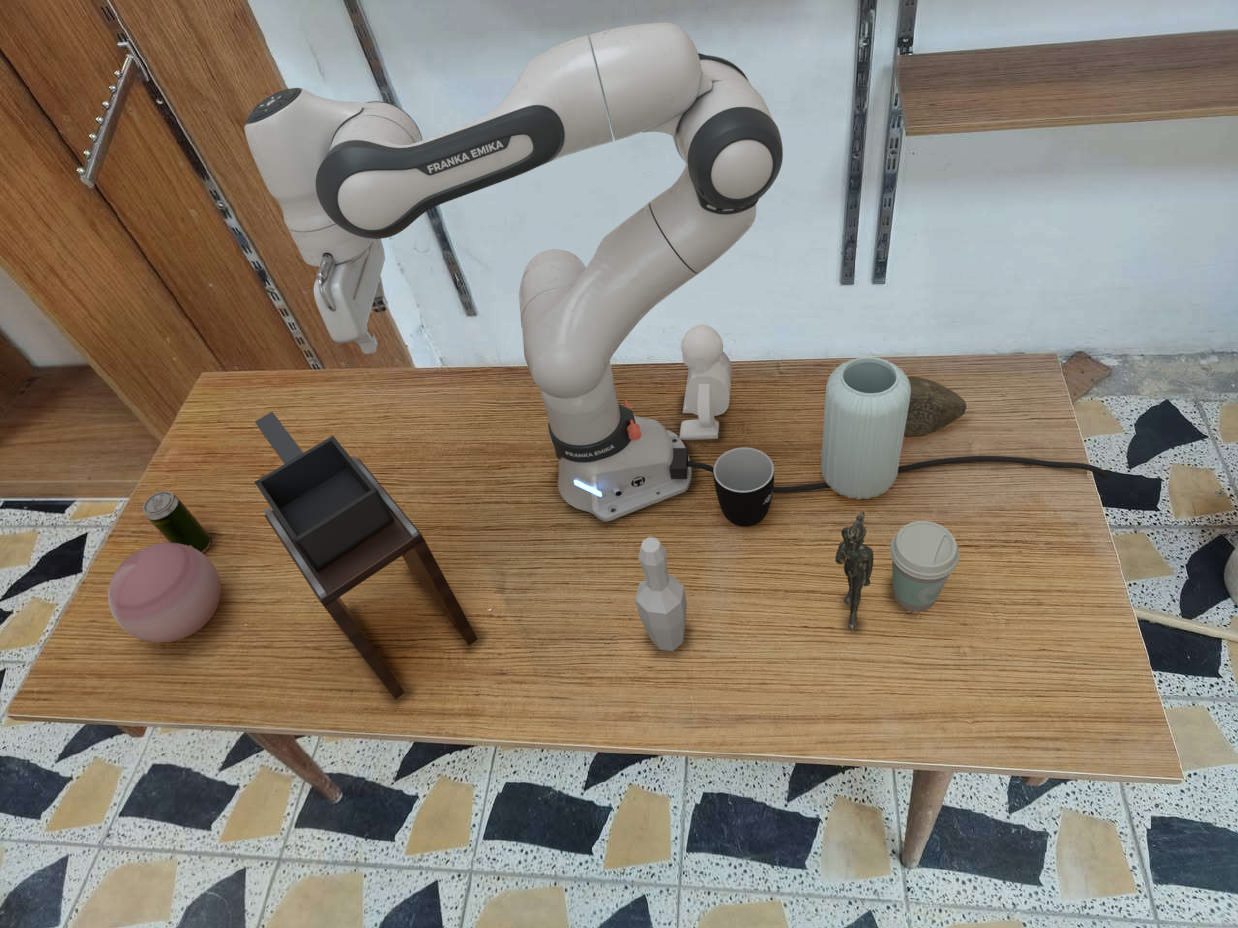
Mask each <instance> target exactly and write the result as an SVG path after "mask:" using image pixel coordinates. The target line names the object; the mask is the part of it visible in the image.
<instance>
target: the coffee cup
mask: <svg viewBox="0 0 1238 928" xmlns="http://www.w3.org/2000/svg"><path fill="white" fill-rule="evenodd" d="M889 552H890V556H891V560H892V561H891V562H892V563H891V565H892V594H893V595H892V596H893V598H894V600H895V601H896V603H897V604H898V605H899V606H901V607H902V608H904V609H906V610H908V611H911V612H925V611H927V610H929V609H931V608H932V607H933V606H934V605H935V604H936V601H937V600H938V598H939V597H940V595H941V593H942V591H943V589H944V586H945V585H946V582H947V580H948V578H950V575H951V573H953V571H955V570H956V568H957V566H958V565H959V562H960V549H959V546H958V543H957V541H956V539H955V536H954V535H953V534H952V532H951V531H950V530H949V529H948V528H946V527H945V526H943V525H941V524H940V523H936V522H933V521H929V520H916V521H912V522H909V523H907V524H905V525H903V526H902V527H901V528H900V529H899V530H898V531H897V532H896V533H895V535H894V536H893V538H892V540H891V542H890V547H889Z"/></svg>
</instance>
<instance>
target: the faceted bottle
mask: <svg viewBox="0 0 1238 928" xmlns="http://www.w3.org/2000/svg"><path fill="white" fill-rule="evenodd" d="M667 553H668V552H667V549H666V547H664V545H663V544H662V543H661V541H659V540H658V539H657V538H656V537H650V536H648V537H646V538H645V539H644V540H642V542H641V546H640V550H639V554H638V557H637V558H638V561H639V564H640V567H641V569H642V572H643V576H644V579H643V580H642V581H641V582H640V583H638V587H637V591H636V596H635V604H636V608H637V613H638V617H639V619H640V621H641V623H642V625H643V627H644V629H645V631H646V633H647V636H648V637H649V639H650V641H651V642H652V643H653V644H654V645H655V646H656V647H657V648H658V649H659V650H661V651H667V652H669V651H670V652H674V651H675V650H676V649H678V648H679V647H680V646H681V645H682V644H684V643H683V642H684V638H685V632H686V620H687V605H688V601H687V596H686V595H687V594H686V589H685V585H683V584H682V582H680V581H679V579H677V578H676V577H675V576H674V575H673V574H669V570H668V563H667V562H668V561H667V559H668V558H667V557H668V554H667Z"/></svg>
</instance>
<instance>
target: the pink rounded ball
mask: <svg viewBox="0 0 1238 928" xmlns="http://www.w3.org/2000/svg"><path fill="white" fill-rule="evenodd" d="M108 585H109V586H108V590H107V601H108V607H109V611H110V613H111V615H112V617H113V619H114V620H115V622H116V624H117V625H118V626H119V627H120V628H121V629H122V630H123V631H125V632H126V633H127V634H129V635H130V636H132V637H134V638H136V639H138V640H141V641H145V642H150V643H158V644H159V643H161V644H163V643H171V642H176V641H180V640H183V639H185V638H188V637H190V636H192V635H194V634H195V633H196V632H198V631H199V630H201V629H202V628H203V627H204V626H205V625H206V624H207V623H208V622H209V621H210V620H211V618H212V617H213V616H214V614H215V612H216V611H217V609H218V606H219V603H220V600H221V592H222V586H221V585H222V584H221V579H220V575H219V572H218V570H217V568H216V567H215V565H214V563H213V562H212V561H211V560H210V558H208V556H206V555H205V553H201V552H200V551H198V550H196V549H194V548H192V547H190V546H187V545H183V544H178V543H170V542H159V543H154V544H150V545H147V546H145V547H143V548H140V549H138V550H136V551H134V552H133V553H131V554H130V555H129V556H127V557H126V558H125V559H124V560H123V561H122V562H121V563H120V564H119V565H118V567H117V568H116V570H115V571H114V573H113V575H112V577H111V580H110V582H109V584H108Z"/></svg>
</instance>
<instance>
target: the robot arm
mask: <svg viewBox="0 0 1238 928" xmlns="http://www.w3.org/2000/svg"><path fill="white" fill-rule="evenodd" d="M243 129H244V134H245V135H244V136H245V138H246V141H247V146H248V148H249V150H250V153H251V156H252V158H253V160H254V164H255V165H256V168H257V170H258V172H259V174H260V177H261V179H262V180H263V182H264V184H265V187H266V189H267V191H268V192H269V194H270V195H271V196H272V198H274V199H275V201H276V202H277V203H278V205H279V207H280V209H281V211H282V217H283V222H284V225H285V226H286V228H287V230H288V233H289V235H290V236H291V238H292V240H293V242H294V245H295V246H296V248H297V250H298V252H299V254H300V256H301V258H302V260H303V261H304V263H305V264H307V265H308V266H312V267H318V269H317V271H316V275H315V278H316V279H315V281H314V284H313V297H314V300H315V303H316V306H317V309H318V311H319V314H320V316H321V318H322V321H323V323H324V325H325V329H326V330H327V332H328V335H329V336H330V338H331V340H332V341H334V343H337V344H346V343H352V342H355V343H356V344H357V345H358V346H359V348H360V349H361V352H362V353H363V354H365V355H370V354H374V353H377V348H378V345H379V342H378V341H377V339H376V336H375V334H374V333H373V334H370V333H369V331H368V330H369V327H368V323H369V319H370V316H371V312H372V310H373V312H375V313H381V312H385V311H386V310H387V308H388V305H389V302H388V300H387V297H386V295H385V290H384V284H383V279H382V273H383V272H382V271H383V268H384V263H385V262H386V261H385V260H386V255H385V247H384V244H383V241H382V239H387V238H391V237H393V236H396V235H399V234H400V233H401V232H403V231H404V230H406V229H407V228H408V227H410V226H411V225H412V224H413V223H414V222H415V221H416V220H417V219H418V218H420V217H421V216H422V215H424V214H425V213H427V212H428V211H430V210H431V209H433V208H436V207H438V206H441V205H442V204H445V203H448V202H450V201H453V200H456V199H458V198H462V197H464V196H467V195H470V194H472V193H475V192H479V191H480V190H483V189H486V188H489V187H492V186H494V185H497V184H500V183H502V182H505V181H507V180H510V179H513V178H516V177H518V176H521V175H523V174H525V173H528V172H530V171H533V170H534V169H536V168H539V167H541V166H543V165H546V164H548V163H550V162H551V163H552V162H553V161H556V160H558V159H561V158H563V157H567V156H569V155H572V154H575V153H579V152H582V151H585V150H589V149H591V148H596V147H599V146H603V145H606V144H610V143H612V142H614V141H615V142H616V141H620V140H622V139H626V138H630V137H632V136H635V135H637V134H640V133H643V134H644V133H662V134H667V135H670V136H672V140H673V142H674V146H675V148H676V151H677V153H678V155H679V157H680V158H681V159H682V161H683V162H684V164H685V166H684V168H683V170H682V172H681V174H680V175H679V177H678V178H677V180H675V182H674V183H673V184H672V185H671V186H670V187H669V188H666V189H665V190H664V191H663V192H661V193H660V194H658V195H657V196H655V197H654V198H653V199H652V200H650V201H649V202H648V203H646V204H645V205H643V207H641V208H640V209H638V210H637V211H636V212H635V213H633V214H632V215H631V216H629V217H628V218H626V219H625V220H624V221H623V222H622V223H620V224H619V225H618V226H616V227H615V228H614V229H612V230H611V231H610V232H608V233H607V234H606V235H605V236H604V237H603V238H602V239H601V241H600V242H599V244H598V246H597V248H596V250H595V253H594V254H593V256H592V258H591V259H590V262H589V263H588V264H587V266H586V264H585V263H584V262H583V260H582V259H581V258H580V257H579V256H577V255H576V254H574V253H573V252H571V251H568V250H566V249H559V248H554V249H547V250H543V251H542V252H539V253H537V254H536V255H534V256H533V257H532V258H531V259H530V260H529V261H528V262H527V264H526V266H525V268H524V270H523V274H522V278H521V281H520V285H519V289H518V290H519V291H518V298H519V299H518V303H519V312H520V313H519V314H520V325H521V331H522V344H523V345H522V346H523V356H524V360H525V363H526V366H527V368H528V370H529V373H530V375H531V377H532V378H531V379H532V380H533V382H534V384H535V385H536V387H537V388H538V389H539V392H540V396H541V400H542V403H543V407H544V409H545V414H546V417H547V420H548V424H547V425H548V436H549V440H550V443H551V446H552V449H553V453H555V456H556V458H557V463H558V476H557V489H558V492H559V495H560V497H561V498H562V500H564V501H565V503H567V505H569V506H571V507H572V508H574V509H577V510H580V511H584V512H587V513H590V514H592V515H593V516H595V517H596V518H597V519H599V520H600V521H601V522H610V521H613V520H616V519H619V518H621V517H624V516H627V515H629V514H632V513H634V512H636V511H639V510H643V509H644V508H647V507H650V506H652V505H655V504H657V503H660V502H662V501H665V500H668V499H670V498H672V497H675V496H677V495H680V494H683V493H685V492H687V491H688V490H689V487H690V486H691V484H692V477H693V468H694V469H698V470H704V471H707V472H710V473H711V474H713V469H714V465H710V464H707V463H704V462H697V461H692V460H690V459H691V458H690V456H689V451H688V447H686V446H685V444H684V442H683V440H681V439H680V438H679V435H677V434H676V433H674V432H673V431H672V430H669V429H666V428H665V427H664V425H663V424H662V423H661V422H660V421H658V420H656V419H654V418H649V417H643V416H640V415H639V416H638V415H635V414H634V411H633V410H632V409H631V407H630V403H629V402H628V400H627V398H624V403H625V406H624V405H622V404H620V403H619V400H618V395H617V391H616V385H615V380H614V375H613V370H612V365H611V359H612V358H613V356H614V354H615V352H617V350H618V349H619V348H620V346H621V345H622V343H623V342H624V340H626V338H627V337H628V336H629V334H630V333H631V332H632V331H633V330H634V329H635V327H636V326H637V325H638V324H639V323H640V321H641V320H642V319H644V317H645V316H646V315H647V314H648V313H649V312H650V311H651V310H652V309H653V308H654V307H656V306H657V305H658V304H659V303H660V302H662V301H663V300H665V299H666V298H667V297H669V296H670V295H671V294H673V293H674V292H675V291H677V290H678V289H680V288H681V287H682V286H684V285H685V284H687V283H688V282H689V281H690V280H692V279H694V278H695V277H696V276H697V275H699V274H701V273H702V272H703V271H704V270H706V269H707V268H709V267H710V266H711V265H712V264H714V263H715V262H717V260H719V259H720V258H721V257H722V256H723V255H724V254H725V253H727V252H728V251H729V250H730V249H731V248H732V247H733V246H734V245H735V244H736V243H737V242H739V240H741V238H743V236H744V235H745V234H746V233H747V232H748V231H749V230H750V229H751V227H752V226H753V224H754V223H755V220H756V217H757V203H758V202H759V200H760V199H761V198H762V197H763V196H764V195H765V194H766V193H767V192H768V191H769V189H770V188H771V187H772V186H773V184H774V182H775V181H776V180H777V178H778V175H779V174H780V171H781V169H782V164H783V159H784V158H783V157H784V150H783V148H784V147H783V141H782V136H781V133H780V130H779V127H778V125H777V124H776V123H775V120H774V119H773V116H772V115H771V112H770V109H769V107H768V105H767V103H766V101H765V99H764V97H763V96H762V95H761V93H760V92H759V91H758V90H757V89H756V88H755V87H754V86H753V85H752V83H751V82H750V81H749V79H748V78H747V75H746V74H745V73H744V72H743V70H742V69H740V68H739V66H737V65H736V64H735V63H733V62H731V61H729V60H728V59H725V58H723V57H720V56H717V55H716V56H715V55H709V54H708V55H707V54H703V53H701V52H698V50H697V47H696V45H695V42H694V41H693V39H692V38H691V37H690V35H689V33H688V32H687V31H686V30H684V29H683V28H682V27H681V26H680V25H678V24H675V23H673V22H666V21H664V22H663V21H662V22H648V23H639V24H631V25H626V26H620V27H615V28H610V29H605V30H601V31H598V32H594V33H589V34H586V35H583V36H579V37H576V38H573V39H570V40H567V41H565V42H562V43H559V44H557V45H555V46H553V47H550V48H549V49H547V50H545V51H543V52H542V53H540V54H538V55H536V56H535V57H533V58H532V59H531V60H530V61H529V62H528V64H527V65H526V66H525V67H524V69H523V71H522V72H521V74H520V76H519V78H518V79H517V81H516V83H515V84H514V85H513V87H512V89H511V90H510V91H509V93H508V94H507V95H506V97H505V98H504V99H503V100H502V101H501V102H500V103H499V104H498V106H496V107H495V108H494V109H493V110H492V111H491V112H489V113H487V115H485V116H483V117H481V118H479V119H477V120H475V121H472V122H470V123H467V124H464V125H462V126H459V127H456V128H453V129H451V130H448V131H445V132H442V133H439V134H437V135H433V136H431V137H428V138H425V139H423V136H422V133H421V131H420V129H419V127H418V125H417V123H416V122H415V120H414V119H413V118H412V117H411V116H410V114H408V113H407V112H406V111H405V110H403V109H402V108H400V107H399V106H396V105H395V104H392V103H390V102H385V101H380V100H379V101H378V100H373V101H368V102H353V101H342V100H335V99H332V98H326V97H322V96H319V95H316V94H314V93H312V92H310V91H308V90H306V89H304V88H301V87H292V88H285V89H281V90H279V91H276V92H275V93H272V94H270V95H268V96H267V97H265V98H264V99H262V100H261V101H260V102H259V103H257V104H256V105H255V106H254V107H253V108H252V110H250V113H249V114H248V116H247V117H246V120H245V124H244V128H243ZM963 463H1008V464H1009V463H1010V464H1021V465H1029V466H1030V465H1031V466H1038V467H1044V468H1046V467H1047V468H1055V469H1076V470H1085V471H1089V472H1092V473H1095V474H1097V475H1098V476H1099V477H1101V478H1103V479H1109V478H1110V475H1109V473H1108V472H1107V471H1106V470H1104V469H1102V468H1100V467H1098V466H1096V465H1092V464H1090V463H1089V464H1088V463H1083V462H1069V461H1053V460H1052V461H1051V460H1044V459H1036V458H1035V459H1034V458H1028V457H1019V456H1018V457H1017V456H1004V455H1003V456H1001V455H969V456H956V457H947V458H946V457H945V458H939V459H931V460H926V461H921V462H920V461H919V462H915V463H911V464H905V465H901V466H900V465H899V467H898V473H897V474H900V473H904V472H909V471H913V470H920V469H924V468H925V469H926V468H930V467H936V466H942V465H943V466H944V465H950V464H951V465H953V464H963ZM823 489H831V486H829V485H828V484H827V483H826V481H824V482H818V483H809V484H801V485H792V486H774V487H773V494H774V493H775V494H781V493H782V494H784V493H785V494H786V493H788V494H789V493H799V492H805V491H817V490H823Z"/></svg>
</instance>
